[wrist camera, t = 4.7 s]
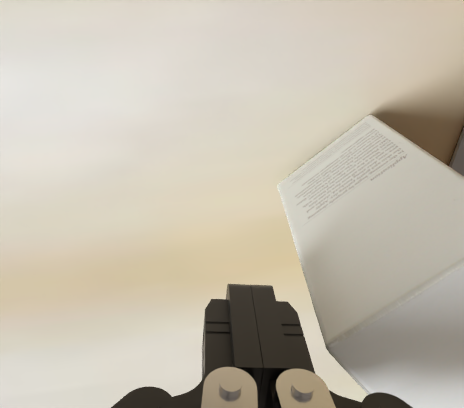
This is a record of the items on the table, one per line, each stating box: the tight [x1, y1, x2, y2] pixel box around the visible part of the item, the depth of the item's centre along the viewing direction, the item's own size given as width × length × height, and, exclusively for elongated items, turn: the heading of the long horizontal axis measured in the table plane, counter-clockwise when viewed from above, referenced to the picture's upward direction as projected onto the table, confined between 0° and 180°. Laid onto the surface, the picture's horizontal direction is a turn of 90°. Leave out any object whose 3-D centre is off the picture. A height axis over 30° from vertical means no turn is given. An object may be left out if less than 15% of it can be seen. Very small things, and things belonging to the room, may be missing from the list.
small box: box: [277, 114, 464, 408], centre depth 18 cm, size 8×6×13 cm
